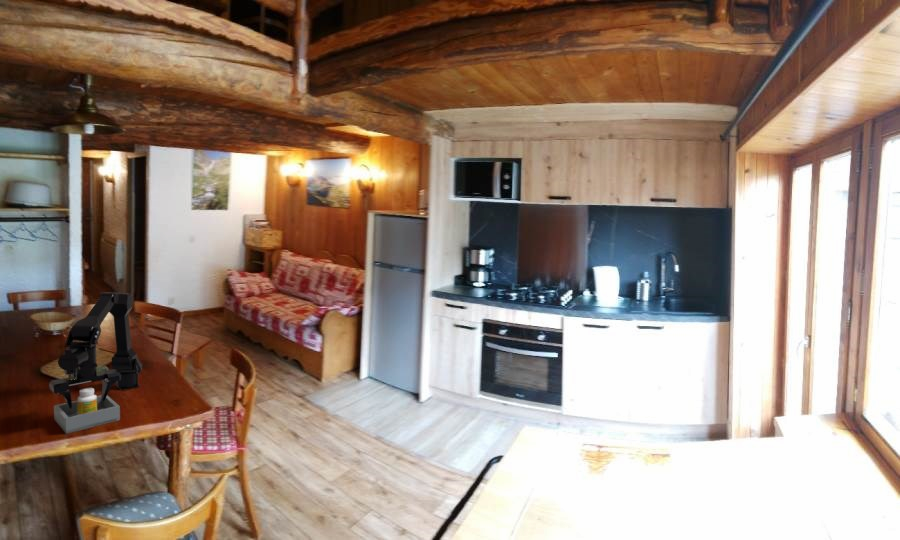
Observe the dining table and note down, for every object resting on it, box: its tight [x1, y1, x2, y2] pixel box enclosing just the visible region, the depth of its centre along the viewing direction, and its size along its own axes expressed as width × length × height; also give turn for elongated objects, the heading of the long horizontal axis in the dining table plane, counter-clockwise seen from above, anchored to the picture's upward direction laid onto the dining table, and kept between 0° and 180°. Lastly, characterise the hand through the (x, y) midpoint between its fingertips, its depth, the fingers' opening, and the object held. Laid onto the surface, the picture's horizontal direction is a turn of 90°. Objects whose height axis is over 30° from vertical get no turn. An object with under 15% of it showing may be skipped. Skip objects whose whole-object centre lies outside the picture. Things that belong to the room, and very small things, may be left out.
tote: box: [53, 394, 121, 435], centre depth 166 cm, size 15×14×5 cm
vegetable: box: [67, 365, 110, 380], centre depth 200 cm, size 14×5×5 cm, turn 131°
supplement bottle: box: [76, 387, 98, 415], centre depth 165 cm, size 5×5×10 cm
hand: (87, 404), depth 165 cm, fingers open, 9 cm apart
